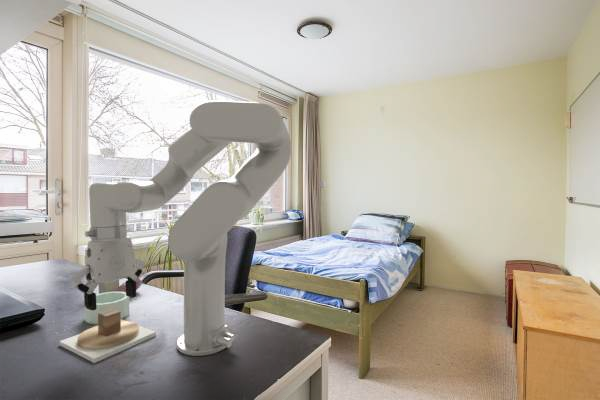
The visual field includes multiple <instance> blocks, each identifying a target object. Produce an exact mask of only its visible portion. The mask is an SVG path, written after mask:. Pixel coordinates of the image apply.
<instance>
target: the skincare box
mask: <svg viewBox="0 0 600 400" xmlns="http://www.w3.org/2000/svg"><path fill="white" fill-rule="evenodd" d="M119 286H120V279H119V280H116V281H112V282H108V283H104V284H98V285H97V287H98V294H100V293H106V292H114V291H115V290H117V289H118V288H119Z"/></svg>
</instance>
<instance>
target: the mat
mask: <svg viewBox="0 0 600 400" xmlns="http://www.w3.org/2000/svg"><path fill="white" fill-rule="evenodd" d="M121 321H126V320H124V319H121ZM137 325H138V324H137ZM138 326H139V333H138V335H137V336H136V337H135V338H133V339H132V340H130V341H128V342H126V343H124V344H121V345H118V346H114V347H110V348H105V349H84V348H81V347H79V346H78V340H77V339H78V336H79V335H80V334H81V333H79V334H76V335H73V336H70V337H67V338H65V339H62V340H59V347H62V348H64V349H66V350H68V351H70V352H72V353H74V354H75V355H78V356H80V357H81V358H83V359H85V360H88V361H90V362H91V363H93V364H96V363H98V362H101V361H102V360H105V359H107V358H109V357H111V356H113V355H116V354H118V353H121V352H122V351H125V350H127V349H130V348H131V347H133V346H136V345H138V344H141V343H143V342H145V341H147V340H150V339H151V338H152V339H153V338H154V337H156V336H157V331H155V330H152V329H150V328H147V327H144V326H141V325H138Z"/></svg>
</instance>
